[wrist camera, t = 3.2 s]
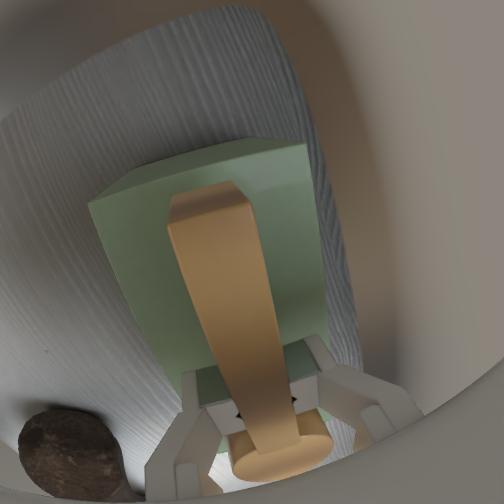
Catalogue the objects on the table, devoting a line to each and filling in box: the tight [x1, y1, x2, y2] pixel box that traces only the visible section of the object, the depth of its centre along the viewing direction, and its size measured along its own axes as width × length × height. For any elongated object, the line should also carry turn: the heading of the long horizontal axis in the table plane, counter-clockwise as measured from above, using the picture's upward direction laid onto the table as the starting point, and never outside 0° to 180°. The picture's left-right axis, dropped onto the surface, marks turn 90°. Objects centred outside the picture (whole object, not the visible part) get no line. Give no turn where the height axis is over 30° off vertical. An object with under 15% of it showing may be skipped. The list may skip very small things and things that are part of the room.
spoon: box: [167, 180, 334, 482], centre depth 9 cm, size 14×5×2 cm, turn 12°
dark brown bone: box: [18, 409, 146, 503], centre depth 23 cm, size 11×10×28 cm
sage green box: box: [88, 137, 332, 454], centre depth 15 cm, size 15×7×8 cm, turn 12°
